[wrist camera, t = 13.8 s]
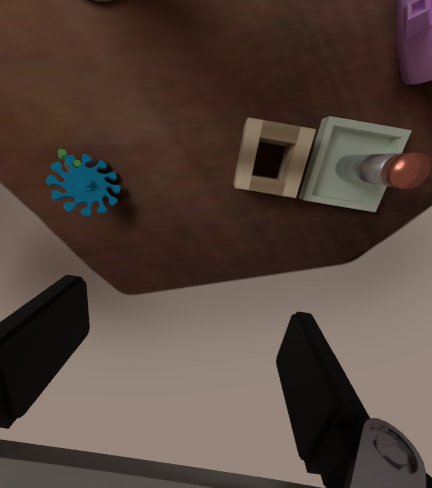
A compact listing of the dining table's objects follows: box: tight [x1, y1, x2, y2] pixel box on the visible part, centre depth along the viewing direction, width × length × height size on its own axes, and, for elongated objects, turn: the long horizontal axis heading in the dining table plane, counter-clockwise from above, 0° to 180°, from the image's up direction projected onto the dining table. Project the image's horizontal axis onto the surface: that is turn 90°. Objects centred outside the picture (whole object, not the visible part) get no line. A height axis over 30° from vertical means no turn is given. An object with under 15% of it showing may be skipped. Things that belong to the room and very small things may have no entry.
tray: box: [299, 116, 411, 212], centre depth 34 cm, size 12×12×2 cm
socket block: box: [234, 118, 316, 198], centre depth 32 cm, size 9×9×6 cm
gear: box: [46, 149, 121, 217], centre depth 36 cm, size 11×6×10 cm
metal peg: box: [335, 153, 431, 189], centre depth 28 cm, size 4×4×13 cm
